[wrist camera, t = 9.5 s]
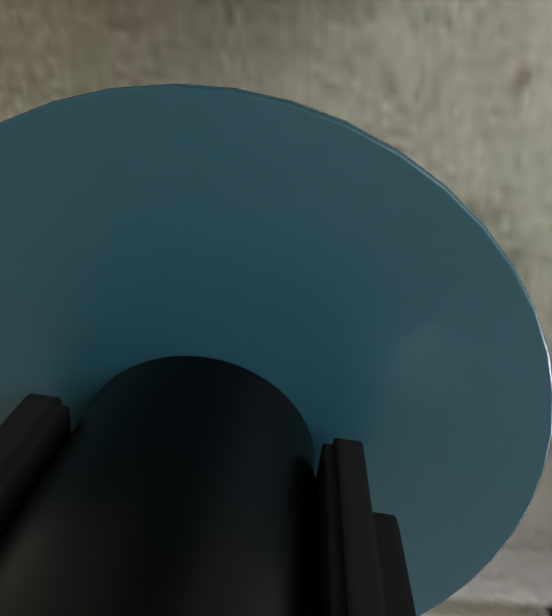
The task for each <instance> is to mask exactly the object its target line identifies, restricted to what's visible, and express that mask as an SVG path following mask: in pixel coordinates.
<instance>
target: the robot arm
mask: <svg viewBox="0 0 552 616" xmlns="http://www.w3.org/2000/svg"><path fill="white" fill-rule="evenodd" d="M70 435H71V422H70V409H69V407H68V406H65V405H62V401H61V399H60V398H59V397H54V396H47V395H40V394H33V393H31V394H28V395H27V396H26V397H25V398H24V399H23V400H22V401H21V403H20V404H19V405H18V406H17V407H16V408H15V409H14V411H13V412H12V413H11V414H10V415H9V416H8V417H7V419H6V420H5V421H4V422H3V423H2V424H1V425H0V541H1V539H2V538H3V536H4V535H5V533H6V532H7V530H8V529H9V527H10V526H11V524H12V523H13V521H14V520H15V518H16V517H17V515H18V514H19V512H20V510H21V509H22V507H23V506H24V504H25V503H26V501H27V500H28V498H29V497H30V495H31V494H32V492H33V491H34V489H35V488H36V486H37V485H38V483H39V482H40V480H41V479H42V477H43V476H44V474H45V472H46V471H47V469H48V468H49V466H50V465H51V463H52V462H53V460H54V459H55V457H56V456H57V454H58V453H59V451H60V450H61V448H62V447H63V445H64V444H65V442H66V441H67V439H68V438H69V436H70ZM315 528H316V610H317V616H416V611H415V606H414V601H413V596H412V591H411V586H410V580H409V575H408V570H407V565H406V560H405V555H404V550H403V544H402V539H401V534H400V529H399V525H398V521H397V518H396V517H395V515H391V514H384V513H377V512H373V511H372V504H371V497H370V490H369V483H368V476H367V469H366V461H365V454H364V447H363V443H362V442H361V441H355V440H348V439H341V438H334V440H333V443H332V444H325V443H324V444H323V447H322V451H321V455H320V460H319V464H318V469H317V473H316V478H315Z"/></svg>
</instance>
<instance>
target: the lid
mask: <svg viewBox="0 0 552 616" xmlns="http://www.w3.org/2000/svg"><path fill="white" fill-rule="evenodd" d="M31 393H33V394H40V395H47V396H54V397H59V398H60V399H61V401H62V405H65V406H68V407H69V409H70V422H71V435H70V436H69V438H68V439H67V441H66V442H65V444H64V445H63V447H62V448H61V450H60V451H59V453H58V454H57V456H56V457H55V459H54V460H53V462H52V463H51V465H50V466H49V468H48V469H47V471H46V472H45V474H44V476H43V477H42V479H41V480H40V482H39V483H38V485H37V486H36V488H35V489H34V491H33V492H32V494H31V495H30V497H29V498H28V500H27V501H26V503H25V504H24V506H23V507H22V509H21V510H20V512H19V514H18V515H17V517H16V518H15V520H14V521H13V523H12V524H11V526H10V527H9V529H8V530H7V532H6V533H5V535H4V536H3V538H2V539H1V541H0V616H317V610H316V528H315V478H316V473H317V469H318V464H319V460H320V455H321V451H322V447H323V444H324V443H325V444H332V443H333V440H334V438H341V439H348V440H355V441H361V442H362V443H363V447H364V454H365V461H366V469H367V476H368V483H369V490H370V497H371V504H372V511H373V512H377V513H384V514H391V515H395V517H396V518H397V521H398V525H399V529H400V534H401V539H402V544H403V550H404V555H405V560H406V565H407V570H408V575H409V580H410V586H411V591H412V596H413V601H414V606H415V611H416V616H420V615H422V614H423V613H425V612H427V611H429V610H430V609H432V608H434V607H435V606H437V605H439V604H441V603H442V602H443V601H445V600H446V599H447V598H449V597H450V596H451V595H453V594H454V593H455V592H457V591H458V590H459V589H461V588H462V587H463V586H465V585H466V584H467V583H469V582H470V581H471V580H472V579H473V578H474V577H475V576H476V575H477V574H478V573H479V572H480V571H481V570H482V569H483V568H484V567H485V566H486V565H487V564H488V563H489V562H490V561H492V560H493V558H494V557H495V556H496V555H497V553H498V552H499V551H500V549H501V548H502V547H503V546H504V544H505V543H506V542H507V541H508V539H509V538H510V537H511V536H512V534H513V533H514V532H515V530H516V528H517V526H518V525H519V523H520V521H521V520H522V518H523V516H524V514H525V513H526V511H527V509H528V507H529V506H530V504H531V502H532V500H533V497H534V495H535V492H536V489H537V487H538V484H539V482H540V479H541V477H542V474H543V471H544V469H545V464H546V459H547V455H548V450H549V445H550V441H551V436H552V374H551V366H550V359H549V351H548V348H547V344H546V341H545V338H544V335H543V331H542V328H541V325H540V322H539V318H538V315H537V312H536V309H535V307H534V305H533V303H532V301H531V299H530V297H529V295H528V293H527V291H526V289H525V287H524V285H523V283H522V281H521V279H520V277H519V275H518V273H517V271H516V269H515V267H514V265H513V264H512V262H511V261H510V260H509V258H508V257H507V255H506V254H505V253H504V251H503V250H502V249H501V247H500V246H499V244H498V243H497V242H496V240H495V239H494V237H493V236H492V235H491V233H490V232H489V231H488V229H487V228H486V226H485V225H484V224H483V223H482V222H481V221H480V220H479V219H478V218H477V217H476V216H475V215H474V214H473V213H472V212H471V211H470V210H469V209H468V208H467V207H466V206H465V205H464V204H463V203H462V202H461V201H460V200H459V199H458V198H457V197H456V196H455V195H454V194H453V193H452V192H451V191H450V190H449V189H448V188H447V187H446V186H445V185H444V184H443V183H442V182H441V181H439V180H438V179H437V178H435V177H434V176H433V175H431V174H430V173H429V172H427V171H426V170H425V169H423V168H422V167H421V166H419V165H418V164H417V163H415V162H414V161H413V160H411V159H410V158H409V157H407V156H406V155H405V154H403V153H402V152H401V151H399V150H398V149H397V148H395V147H393V146H391V145H389V144H388V143H386V142H384V141H382V140H380V139H378V138H377V137H375V136H373V135H371V134H369V133H367V132H365V131H364V130H362V129H360V128H358V127H356V126H354V125H353V124H351V123H349V122H347V121H345V120H342V119H339V118H337V117H334V116H331V115H329V114H326V113H323V112H321V111H318V110H315V109H313V108H310V107H307V106H305V105H302V104H299V103H297V102H294V101H291V100H286V99H282V98H277V97H273V96H268V95H264V94H259V93H255V92H250V91H246V90H241V89H237V88H227V87H214V86H201V85H188V84H164V85H150V86H135V87H121V88H109V89H105V90H101V91H96V92H92V93H87V94H83V95H78V96H74V97H69V98H65V99H60V100H56V101H52V102H50V103H47V104H45V105H42V106H40V107H37V108H35V109H32V110H30V111H27V112H25V113H22V114H20V115H17V116H15V117H12V118H10V119H7V120H5V121H2V122H1V123H0V425H1V424H2V423H3V422H4V421H5V420H6V419H7V417H8V416H9V415H10V414H11V413H12V412H13V411H14V409H15V408H16V407H17V406H18V405H19V404H20V403H21V401H22V400H23V399H24V398H25V397H26V396H27V395H28V394H31Z"/></svg>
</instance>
